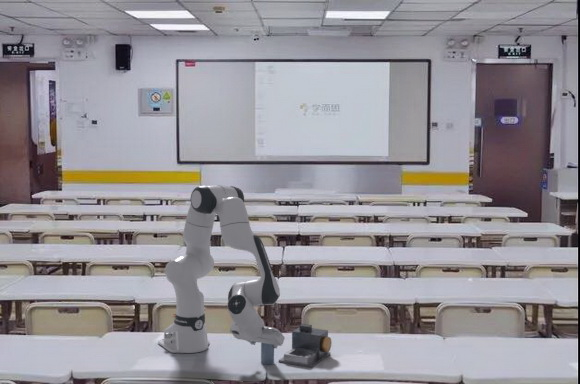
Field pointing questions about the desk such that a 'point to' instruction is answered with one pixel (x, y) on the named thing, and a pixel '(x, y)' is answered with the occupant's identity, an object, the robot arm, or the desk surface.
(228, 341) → the desk surface
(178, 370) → the desk surface
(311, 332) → the gray recessed holder
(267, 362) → the bottle
